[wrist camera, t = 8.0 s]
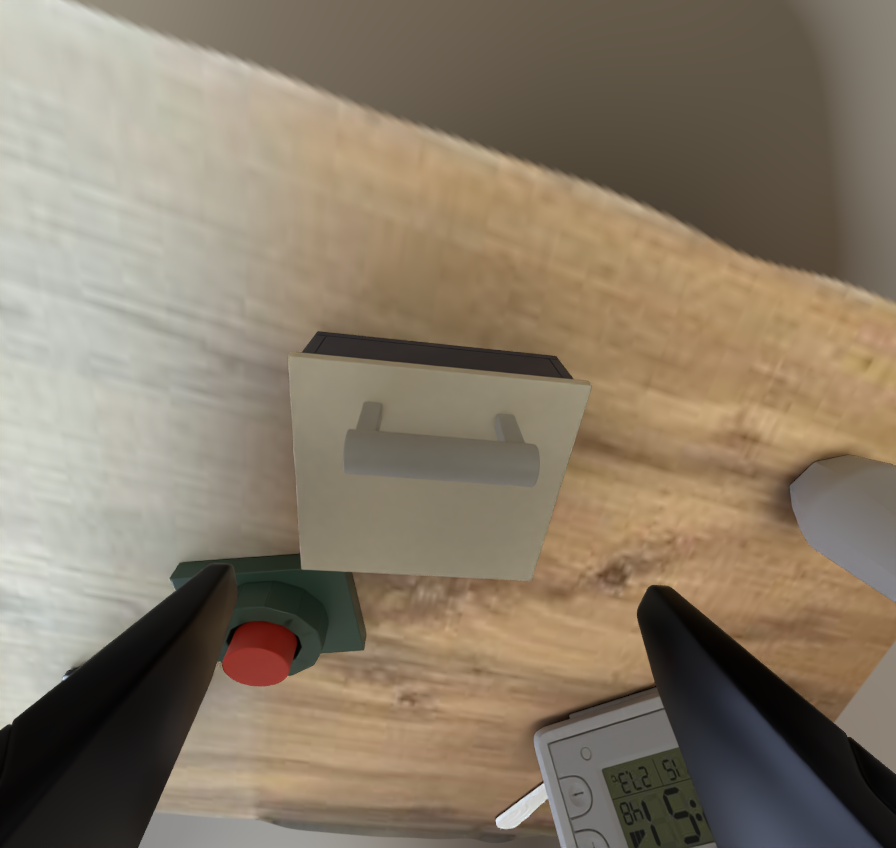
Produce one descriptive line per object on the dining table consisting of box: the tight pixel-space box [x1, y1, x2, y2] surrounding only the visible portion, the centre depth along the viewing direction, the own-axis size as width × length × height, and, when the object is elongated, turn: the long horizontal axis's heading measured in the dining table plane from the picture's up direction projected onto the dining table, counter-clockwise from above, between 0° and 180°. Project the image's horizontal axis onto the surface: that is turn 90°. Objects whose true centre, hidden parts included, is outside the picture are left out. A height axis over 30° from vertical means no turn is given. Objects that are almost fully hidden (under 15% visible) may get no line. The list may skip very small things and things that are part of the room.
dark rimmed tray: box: [302, 332, 573, 379], centre depth 20 cm, size 10×11×4 cm
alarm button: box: [222, 621, 297, 686], centre depth 24 cm, size 4×4×2 cm
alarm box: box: [170, 554, 366, 676], centre depth 26 cm, size 10×8×3 cm
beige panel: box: [288, 352, 592, 581], centre depth 16 cm, size 10×11×4 cm
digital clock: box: [534, 687, 717, 848], centre depth 31 cm, size 16×9×11 cm, turn 106°
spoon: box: [496, 783, 548, 830], centre depth 42 cm, size 5×18×1 cm, turn 154°
